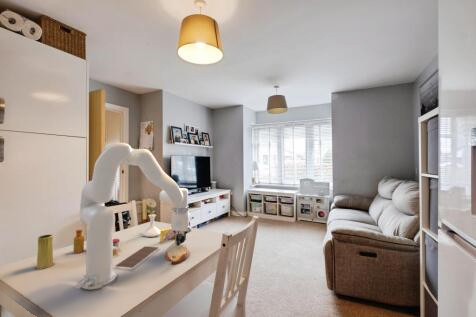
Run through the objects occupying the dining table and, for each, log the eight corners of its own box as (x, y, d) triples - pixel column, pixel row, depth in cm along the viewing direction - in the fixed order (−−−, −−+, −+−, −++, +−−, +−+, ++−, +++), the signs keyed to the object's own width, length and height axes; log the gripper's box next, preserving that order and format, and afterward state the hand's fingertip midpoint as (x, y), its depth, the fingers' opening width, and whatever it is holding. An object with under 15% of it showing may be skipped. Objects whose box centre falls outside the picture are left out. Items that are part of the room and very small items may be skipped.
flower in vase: (164, 234, 151) (164, 198, 151) (150, 239, 141) (150, 200, 141) (152, 231, 158) (152, 196, 158) (137, 235, 148) (138, 198, 148)
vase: (33, 269, 102) (33, 239, 102) (41, 263, 108) (41, 234, 108) (48, 268, 103) (49, 237, 103) (55, 262, 109) (56, 233, 109)
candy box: (161, 244, 133) (161, 230, 134) (159, 243, 135) (159, 230, 135) (183, 237, 146) (183, 224, 146) (181, 236, 148) (181, 224, 148)
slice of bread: (176, 246, 131) (176, 239, 131) (199, 252, 122) (199, 246, 122) (150, 257, 116) (150, 250, 116) (174, 265, 107) (174, 258, 107)
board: (132, 270, 102) (132, 267, 102) (115, 268, 104) (115, 265, 104) (159, 249, 126) (159, 247, 126) (144, 248, 127) (144, 246, 127)
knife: (169, 254, 109) (169, 248, 109) (165, 254, 110) (165, 248, 110) (185, 239, 130) (186, 234, 130) (182, 239, 130) (182, 234, 130)
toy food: (70, 253, 120) (71, 231, 120) (92, 244, 132) (92, 224, 132) (108, 260, 112) (109, 236, 112) (128, 250, 124) (128, 229, 124)
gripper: (164, 210, 123) (164, 243, 123) (191, 212, 120) (191, 245, 120) (171, 207, 130) (170, 238, 130) (196, 209, 128) (196, 240, 128)
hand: (180, 241), depth 125 cm, fingers closed on knife, 2 cm apart
